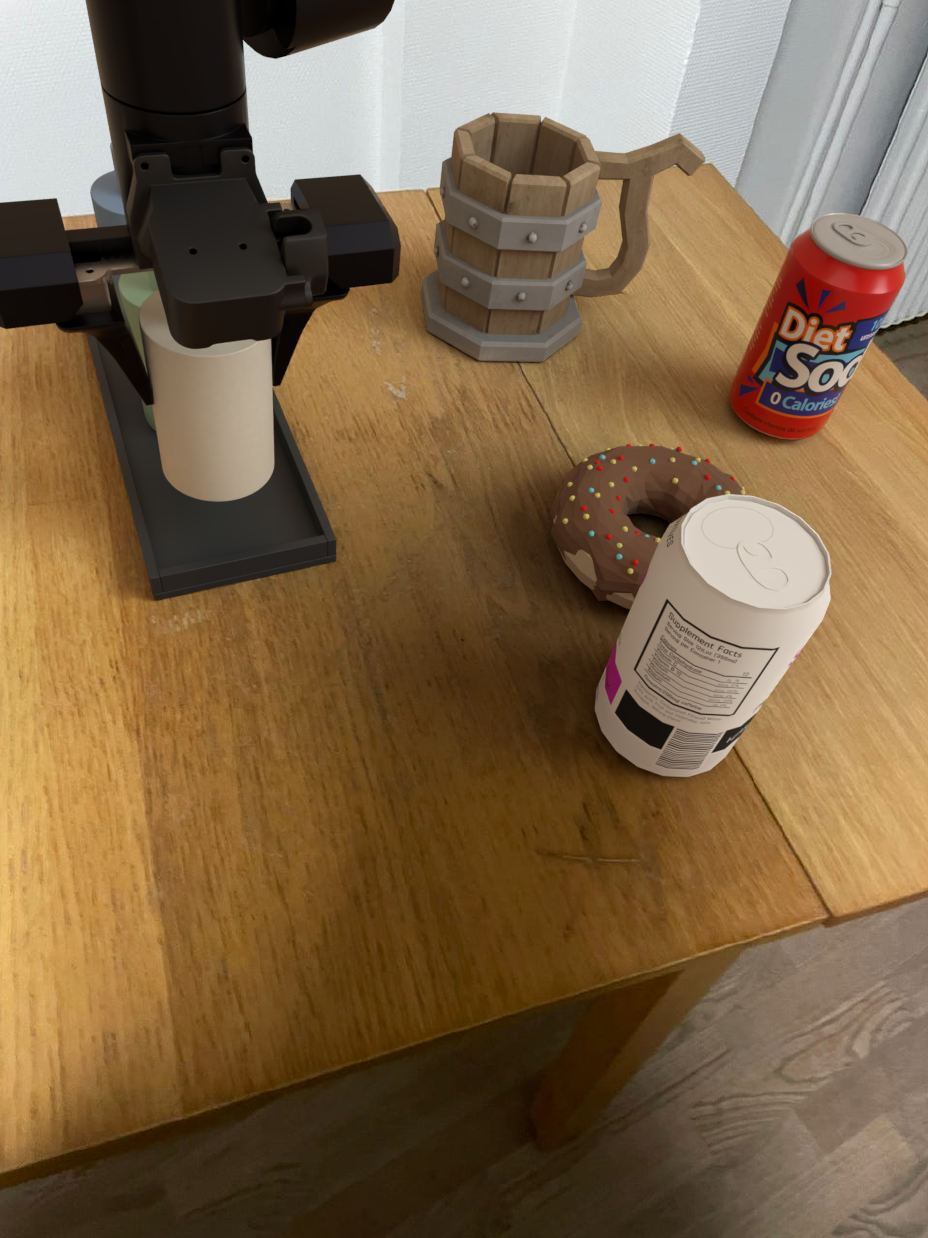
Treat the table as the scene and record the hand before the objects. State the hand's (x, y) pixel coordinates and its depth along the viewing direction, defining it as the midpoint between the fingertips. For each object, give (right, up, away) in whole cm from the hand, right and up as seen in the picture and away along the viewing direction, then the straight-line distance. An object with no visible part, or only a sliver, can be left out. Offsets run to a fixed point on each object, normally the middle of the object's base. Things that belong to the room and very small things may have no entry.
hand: (212, 390), depth 49 cm
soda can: (+38, +4, +23) cm, 45 cm away
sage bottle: (-5, +2, +14) cm, 15 cm away
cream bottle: (-1, -3, +4) cm, 5 cm away
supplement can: (+25, -18, +4) cm, 31 cm away
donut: (+26, -8, +12) cm, 30 cm away
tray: (-5, +2, +15) cm, 16 cm away
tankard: (+20, +13, +27) cm, 36 cm away
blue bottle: (-9, +11, +20) cm, 25 cm away
